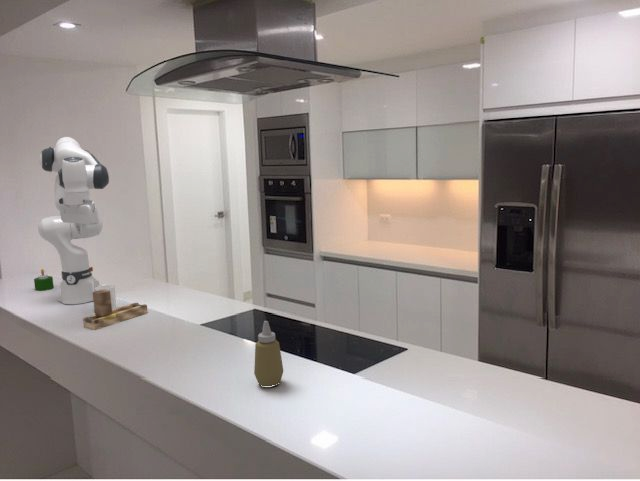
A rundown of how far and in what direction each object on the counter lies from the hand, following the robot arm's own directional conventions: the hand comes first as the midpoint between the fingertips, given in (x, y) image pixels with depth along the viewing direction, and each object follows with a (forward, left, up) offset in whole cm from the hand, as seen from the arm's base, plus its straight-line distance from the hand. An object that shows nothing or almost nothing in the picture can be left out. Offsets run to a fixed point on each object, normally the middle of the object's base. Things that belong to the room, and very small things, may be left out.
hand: (81, 234), depth 213 cm
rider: (+8, +9, -31) cm, 34 cm away
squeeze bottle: (+69, +78, -34) cm, 109 cm away
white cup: (-11, +3, -34) cm, 36 cm away
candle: (-53, -44, -34) cm, 77 cm away
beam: (+4, +12, -34) cm, 36 cm away
